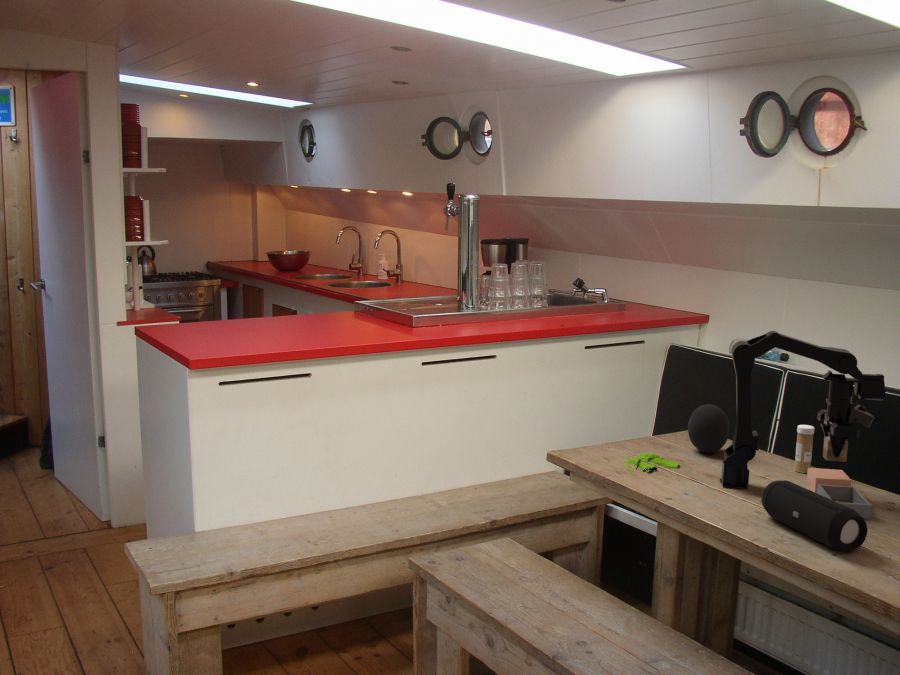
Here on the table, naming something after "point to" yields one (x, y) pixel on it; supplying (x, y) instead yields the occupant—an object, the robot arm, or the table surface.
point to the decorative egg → (708, 428)
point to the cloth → (653, 459)
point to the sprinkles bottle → (804, 448)
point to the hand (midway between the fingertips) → (834, 454)
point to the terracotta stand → (826, 478)
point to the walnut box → (829, 453)
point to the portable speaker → (815, 515)
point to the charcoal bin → (847, 498)
